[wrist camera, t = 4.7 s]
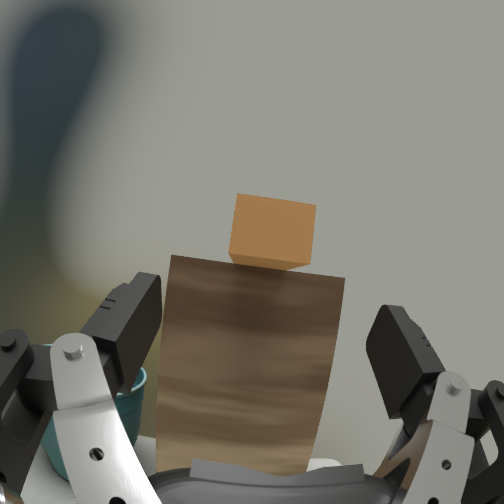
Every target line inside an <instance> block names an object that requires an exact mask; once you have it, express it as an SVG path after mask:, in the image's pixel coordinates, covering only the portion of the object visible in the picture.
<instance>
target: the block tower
mask: <svg viewBox="0 0 504 504" xmlns="http://www.w3.org/2000/svg"><path fill="white" fill-rule="evenodd" d="M344 283H345V278H341V277H340V278H339V277H333V276H325V275H316V274H308V273H301V272H293V271H286V270H278V269H270V268H263V267H255V266H248V265H241V264H233V263H226V262H219V261H211V260H205V259H198V258H190V257H184V256H176V255H171V261H170V268H169V275H168V282H167V290H166V298H165V307H164V315H163V326H162V336H161V347H160V360H159V373H158V374H159V375H158V390H157V415H156V474H157V473H160V472H163V471H167V470H171V469H179V468H191V465H192V460H193V458H194V459H200V460H206V461H212V462H219V463H227V464H236V465H240V466H243V467H246V468H249V469H253V470H256V471H260V472H263V473H267V474H271V475H275V476H279V477H286V476H291V475H296V474H300V473H304V472H306V470H307V466H308V463H309V460H310V456H311V453H312V449H313V445H314V441H315V437H316V434H317V430H318V426H319V422H320V418H321V414H322V410H323V406H324V401H325V396H326V391H327V387H328V382H329V378H330V373H331V367H332V362H333V357H334V351H335V345H336V340H337V333H338V327H339V320H340V314H341V306H342V299H343V291H344Z"/></svg>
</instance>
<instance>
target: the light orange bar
mask: <svg viewBox="0 0 504 504" xmlns="http://www.w3.org/2000/svg"><path fill="white" fill-rule="evenodd" d="M315 211H316V205H312V204H305V203H300V202H294V201H287V200H281V199H274V198H267V197H260V196H253V195H245V194H237V199H236V205H235V212H234V219H233V226H232V232H231V239H230V246H229V255H230V257H231V259H232V261H233V263H234V264H241V265H248V266H255V267H263V268H270V269H278V270H289V269H293V268H296V267H300V266H304V265H309V264H310V260H311V252H312V242H313V232H314V222H315V221H314V220H315Z"/></svg>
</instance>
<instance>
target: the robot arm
mask: <svg viewBox="0 0 504 504" xmlns="http://www.w3.org/2000/svg"><path fill="white" fill-rule="evenodd" d="M161 297H162V296H161V278H160V276H159V275H154V274H149V273H143V272H138V273H137V274H136V276H135V277H134V278H133V280H132V281H131V282H130V284H126V283H123V284H121V285H119V286H118V287H116V288H114V289H113V290H112V291H111V292H110V293H109V294H108V296H107V297H106V298H105V300H104V301H103V302H102V303H101V304H100V307H99V308H97V310H96V311H95V312H94V313H93V315H92V316H91V317H90V319H89V320H88V321H87V323H86V324H85V325H84V327H83V328H82V329H81V331H80V332H79V333H70V334H66V335H63V336H61V337H60V338H58V339H57V340H56V341H55V342H54V343H53V345H52V346H47V345H33V344H30V341H29V339H28V337H27V335H26V333H25V332H23V331H22V330H19V329H9V330H5V331H3V332H1V333H0V504H24V502H23V500H22V498H21V497H20V494H21V491H22V488H23V485H24V482H25V480H26V477H27V474H28V472H29V469H30V466H31V464H32V461H33V459H34V456H35V454H36V451H37V449H38V446H39V444H40V442H41V439H42V437H43V435H44V433H45V430H46V428H47V426H48V424H49V421H50V419H51V417H52V415H53V420H54V425H55V430H56V435H57V439H58V443H59V447H60V451H61V455H62V458H63V462H64V465H65V469H66V472H67V475H68V478H69V481H70V484H71V487H72V490H73V493H74V495H75V498H76V501H77V503H78V504H460V501H461V504H504V384H503V383H502V382H500V381H496V380H493V381H490V382H489V383H488V384H487V386H486V387H485V388H484V390H483V391H480V390H474V389H470V386H469V384H468V383H467V381H466V380H465V379H464V378H463V377H462V376H461V375H459V374H457V373H455V372H451V371H446V370H445V368H444V366H443V365H442V363H441V361H440V359H439V358H438V356H437V354H436V353H435V351H434V349H433V347H431V344H430V342H429V341H428V340H427V339H426V336H425V334H424V333H423V331H422V329H421V328H420V327H419V326H418V325H417V324H416V323H415V322H414V321H412V320H411V319H410V317H409V316H408V314H407V313H406V311H405V309H404V308H403V307H402V306H394V305H382V306H381V308H380V310H379V312H378V314H377V316H376V319H375V321H374V323H373V326H372V328H371V330H370V332H369V335H368V337H367V341H366V352H367V355H368V358H369V360H370V363H371V366H372V369H373V372H374V374H375V377H376V380H377V383H378V386H379V389H380V392H381V395H382V398H383V401H384V404H385V407H386V410H387V413H388V416H389V419H398V418H402V420H403V423H402V424H401V425H400V427H399V428H398V430H397V432H396V435H395V437H394V439H393V441H392V443H391V445H390V448H389V450H388V452H387V454H386V456H385V458H384V460H383V461H382V464H381V465H380V467H379V468H378V469H377V471H376V472H375V473H374V474H373V475H368V474H364V470H363V465H362V464H357V465H347V466H334V467H323V468H320V469H316V470H312V471H308V472H304V473H300V474H296V475H291V476H286V477H279V476H275V475H271V474H267V473H263V472H260V471H256V470H253V469H249V468H246V467H243V466H240V465H236V464H227V463H219V462H212V461H206V460H200V459H194V458H193V460H192V465H191V468H179V469H171V470H167V471H163V472H160V473H157V474H154V475H151V476H149V477H147V475H146V473H145V471H144V469H143V467H142V465H141V463H140V461H139V459H138V457H137V455H136V453H135V451H134V449H133V447H132V444H131V442H130V440H129V438H128V435H127V433H126V431H125V428H124V426H123V423H122V421H121V418H120V416H119V413H118V411H117V408H116V405H115V403H114V400H115V398H116V396H117V393H118V392H119V393H122V394H126V395H129V394H130V392H131V390H132V387H133V385H134V383H135V381H136V378H137V376H138V374H139V371H140V369H141V367H142V365H143V362H144V360H145V358H146V356H147V354H148V351H149V349H150V347H151V345H152V343H153V340H154V338H155V336H156V334H157V332H158V330H159V327H160V324H161V319H162V298H161ZM13 392H15V394H16V395H15V397H14V399H13V401H12V402H11V404H10V406H9V408H8V410H7V412H6V413H5V416H4V417H3V419H2V421H1V414H2V411H3V409H4V407H5V405H6V404H7V402H8V400H9V399H10V397H11V395H12V393H13ZM489 430H491V432H492V434H493V437H494V439H495V442H496V444H497V447H498V457H497V459H496V461H495V462H494V463H493V464H492V465H491V466H489V464H488V461H487V458H486V456H485V453H484V450H483V447H482V444H481V442H480V439H481V438H482V437H483V436H484V435H485V434H486V433H487V432H488V431H489Z"/></svg>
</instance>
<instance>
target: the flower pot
mask: <svg viewBox="0 0 504 504" xmlns="http://www.w3.org/2000/svg"><path fill="white" fill-rule="evenodd" d="M52 345H53V344H51V345H50V344H49V345H47V346H52ZM146 379H147V375H146V372H145V370H144V369H143V368H142V367H141V369H140V371H139V374H138V376H137V378H136V381H135V383H134V385H133V387H132V390H131V392H130V394H129V395H126V394H122V393H119V392H118V393H117V396H116V398H115V400H114V403H115V405H116V408H117V411H118V413H119V416H120V418H121V421H122V423H123V426H124V428H125V431H126V433H127V435H128V438H129V440H130V442H131V444H132V447H133V448H134V445H135V442H136V440H137V436H138V432H139V427H140V419H141V410H142V400H143V393H144V385H145V383H146ZM40 443H41V445H42V446H43V448H44V449H45V451H46V453H47V454H48V456H49V457H50V459H51V462H52V465H53V467H54V469H55V470H56V472H57V473H58V474H59V475H61V476H62V477H63V478H65V479H66V480H68V481H69V478H68V475H67V472H66V469H65V465H64V462H63V458H62V455H61V451H60V447H59V443H58V439H57V435H56V430H55V425H54V420H53V415H52V417H51V419H50V421H49V424H48V426H47V428H46V430H45V433H44V435H43V437H42V439H41V442H40Z"/></svg>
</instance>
